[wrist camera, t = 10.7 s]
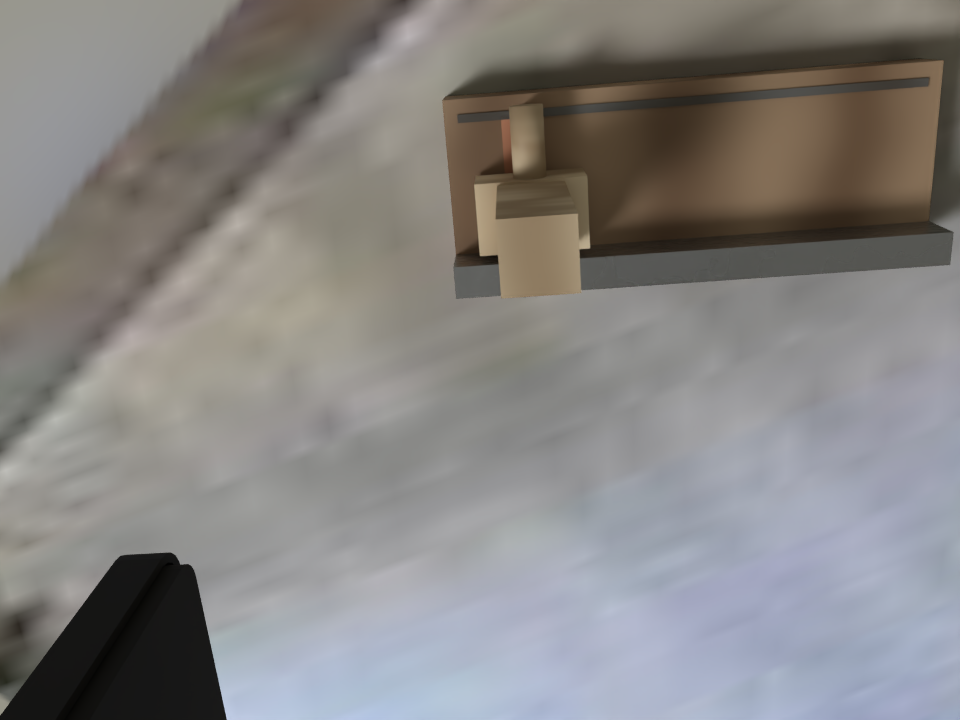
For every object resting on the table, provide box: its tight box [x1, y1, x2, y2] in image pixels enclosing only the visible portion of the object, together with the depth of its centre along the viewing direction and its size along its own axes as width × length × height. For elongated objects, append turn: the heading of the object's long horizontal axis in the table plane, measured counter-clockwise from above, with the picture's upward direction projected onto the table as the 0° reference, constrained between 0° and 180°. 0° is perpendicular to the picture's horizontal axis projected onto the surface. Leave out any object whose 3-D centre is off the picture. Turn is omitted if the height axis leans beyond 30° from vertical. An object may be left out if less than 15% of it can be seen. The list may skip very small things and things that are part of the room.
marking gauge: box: [474, 104, 590, 298], centre depth 30 cm, size 4×5×8 cm
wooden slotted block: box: [442, 59, 953, 299], centre depth 34 cm, size 18×7×4 cm, turn 94°
